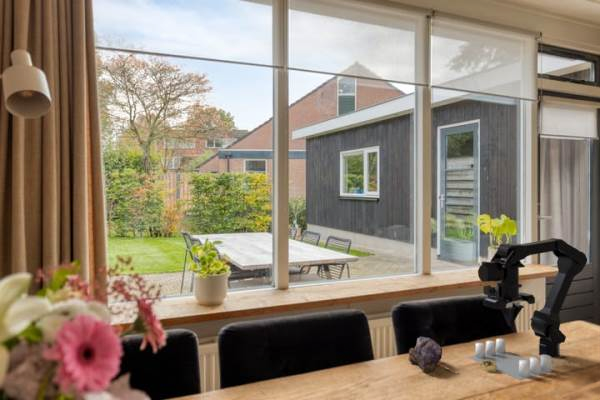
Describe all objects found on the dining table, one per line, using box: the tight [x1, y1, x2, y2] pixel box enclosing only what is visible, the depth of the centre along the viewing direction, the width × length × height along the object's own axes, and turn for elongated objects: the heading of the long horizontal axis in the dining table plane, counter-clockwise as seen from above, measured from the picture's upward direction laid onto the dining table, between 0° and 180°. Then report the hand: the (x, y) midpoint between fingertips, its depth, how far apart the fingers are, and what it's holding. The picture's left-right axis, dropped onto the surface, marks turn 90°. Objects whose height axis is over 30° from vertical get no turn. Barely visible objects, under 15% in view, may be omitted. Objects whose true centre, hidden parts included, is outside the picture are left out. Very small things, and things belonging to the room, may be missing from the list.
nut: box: [479, 359, 498, 373], centre depth 136 cm, size 4×5×2 cm
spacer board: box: [468, 338, 555, 381], centre depth 140 cm, size 16×20×5 cm
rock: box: [408, 336, 443, 373], centre depth 141 cm, size 12×9×10 cm
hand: (509, 325), depth 146 cm, fingers closed
